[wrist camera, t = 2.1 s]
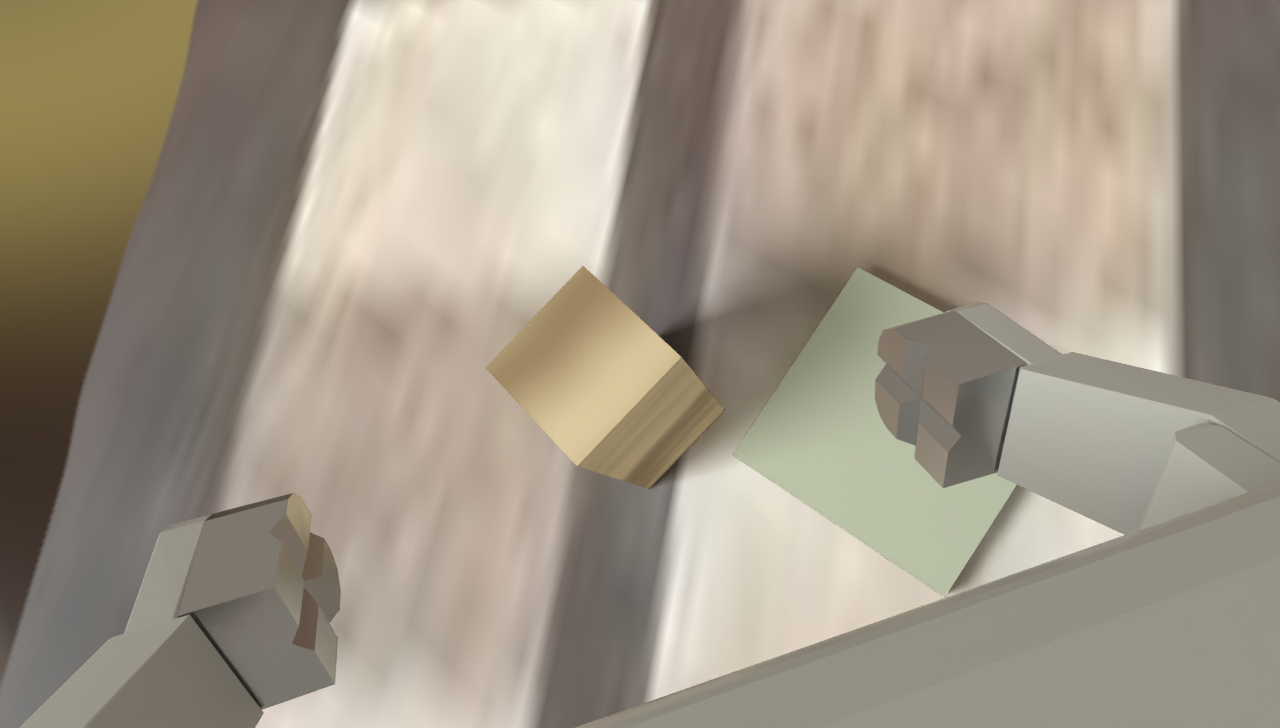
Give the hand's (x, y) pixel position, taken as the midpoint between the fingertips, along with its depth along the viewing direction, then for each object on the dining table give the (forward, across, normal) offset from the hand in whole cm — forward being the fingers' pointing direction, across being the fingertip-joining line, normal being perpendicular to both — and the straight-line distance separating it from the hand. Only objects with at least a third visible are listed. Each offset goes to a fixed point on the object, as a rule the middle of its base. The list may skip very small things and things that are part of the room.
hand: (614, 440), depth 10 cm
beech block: (+19, -4, +15) cm, 24 cm away
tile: (+13, -14, +15) cm, 24 cm away
